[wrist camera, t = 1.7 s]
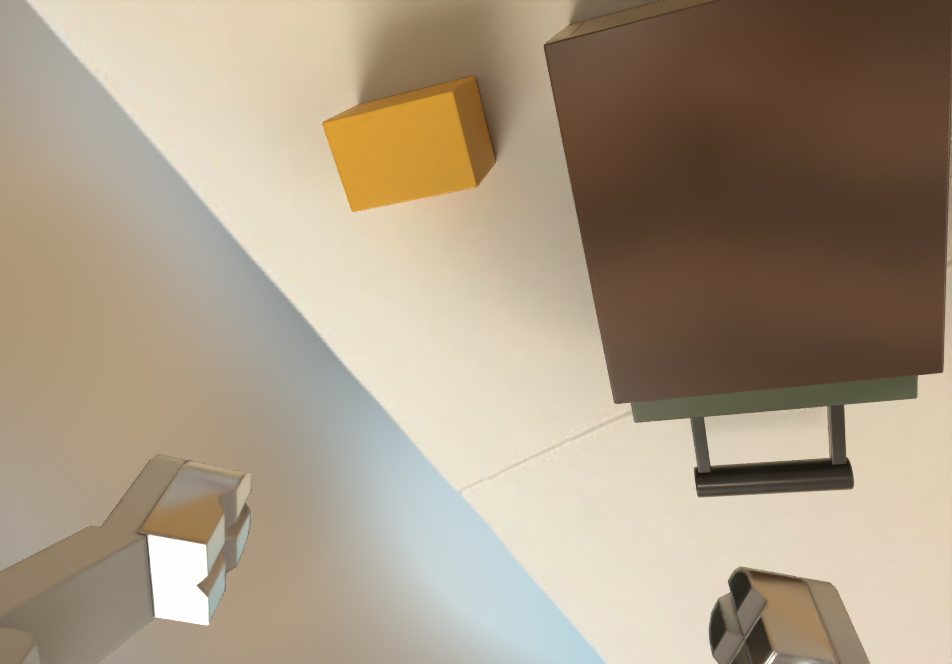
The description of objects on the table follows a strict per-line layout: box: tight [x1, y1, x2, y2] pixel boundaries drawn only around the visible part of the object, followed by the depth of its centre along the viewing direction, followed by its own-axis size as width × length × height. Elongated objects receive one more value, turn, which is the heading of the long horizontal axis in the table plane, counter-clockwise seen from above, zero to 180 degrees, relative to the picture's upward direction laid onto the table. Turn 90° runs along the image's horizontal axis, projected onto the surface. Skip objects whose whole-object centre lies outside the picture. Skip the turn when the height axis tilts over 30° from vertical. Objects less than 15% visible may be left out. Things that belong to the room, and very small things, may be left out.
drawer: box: [631, 375, 918, 497], centre depth 32 cm, size 20×12×7 cm, turn 15°
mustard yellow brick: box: [323, 76, 496, 212], centre depth 34 cm, size 6×4×5 cm
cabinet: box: [544, 0, 952, 404], centre depth 30 cm, size 15×13×9 cm
